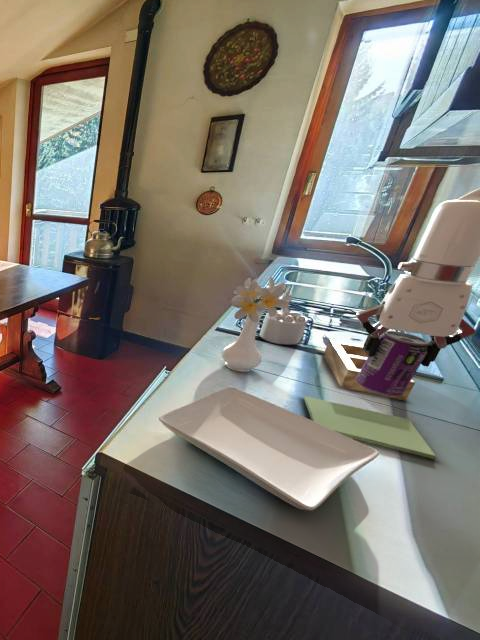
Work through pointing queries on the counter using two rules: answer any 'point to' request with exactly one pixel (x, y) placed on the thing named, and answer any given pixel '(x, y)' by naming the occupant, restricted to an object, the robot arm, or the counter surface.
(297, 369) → the counter surface
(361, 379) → the beverage can
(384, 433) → the mat
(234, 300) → the flower vase
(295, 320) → the lumpy-topped squat cylinder
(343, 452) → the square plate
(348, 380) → the can rack
